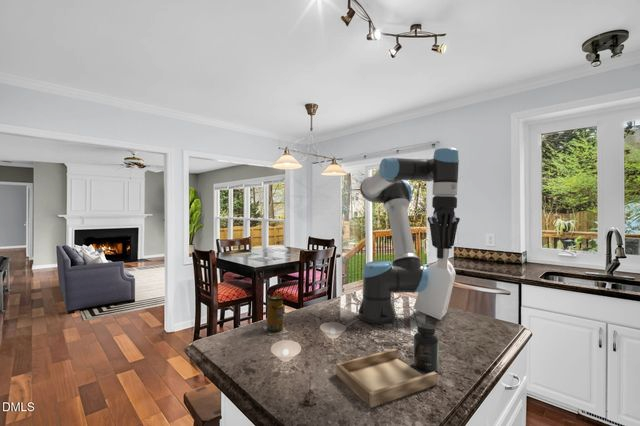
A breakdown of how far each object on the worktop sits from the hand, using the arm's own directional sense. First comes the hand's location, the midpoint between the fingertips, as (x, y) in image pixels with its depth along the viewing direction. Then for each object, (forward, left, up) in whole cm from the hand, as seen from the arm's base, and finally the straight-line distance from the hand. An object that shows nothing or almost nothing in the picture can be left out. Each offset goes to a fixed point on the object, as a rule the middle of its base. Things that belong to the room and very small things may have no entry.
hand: (442, 268), depth 103 cm
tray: (-10, -28, -26) cm, 40 cm away
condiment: (-55, -16, -27) cm, 64 cm away
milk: (-9, +34, -25) cm, 43 cm away
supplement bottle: (-2, -16, -27) cm, 31 cm away
